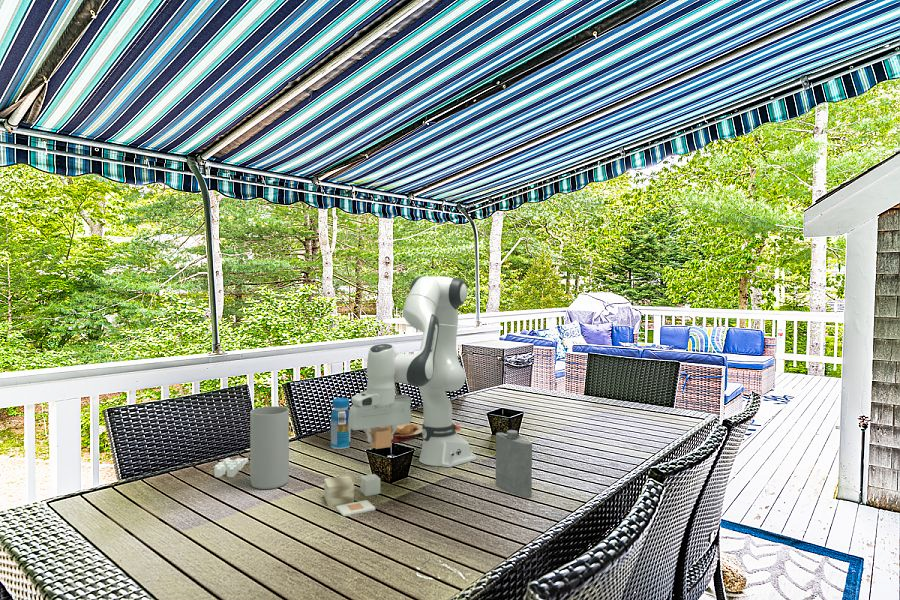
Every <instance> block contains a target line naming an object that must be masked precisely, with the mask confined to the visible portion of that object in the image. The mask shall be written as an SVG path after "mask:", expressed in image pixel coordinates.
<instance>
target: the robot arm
mask: <svg viewBox="0 0 900 600" xmlns="http://www.w3.org/2000/svg"><path fill="white" fill-rule="evenodd" d="M467 295H468V285H467V284H466V282H465V280H463V279H461V278H458V277H454V278H453V277H450V276H442V275H440V276H435V275H434V276H433V275H431V276H430V275H429V276H428V275H422V276H417V277H414V279H413V280H412V281H411V283H410V286H409V293H408V295H407V297H406V300H405V301H404V304H403V308H402V314H403V318H404V319H405V321H406V322H407V324H408V325H410V326H411V327H412V328H414V329H416V330H418V331H420V332H421V333H422V338H421V342H420V343H421V344H420V348H419V351H418V352H417V353H402V352H399V351H396V350H395V349H394V346H393V345H392V344H389V343H382V344H374V345H373V346H371V347H370V348H369V351H368V354H367V355H368V356H367V360H366V361H367V362H366V363H367V364H366V376H367V384H366V390H364V391H362V392H360V393H358V394H355V395H353V396H352V397H351V403H352V405H351V406H349V407H350V408H349V409H348V410H349V418H348V425H349V427H350V428H351V430H352V431H361V430H363V431H364V433H365V434H366V436H367V442H368V443H369V444H370V442H374V436H372V435H371V434H370V433H369V432H371V429H375V428H378V427H385V426H390V427H391V429H390V430H391V439H393V434H394V432H395V430H396V428H397V425H400V424H408V423H411V421H412V410H411V403H412V402H411V401H412V399H411V397H410V396H409V395H407V394H396V385H395V383H399V384H406V385H412V386H416V387H418V389H419V391H420V395H421V401H422V407H423V409H422V410H423V423H422V433H421V435H422V443H421V444H422V446H421V452H420V455H419V459H418V461H419V462H420V463H422V464H424V465H426V466H427V465H428V466H432V467H444V468H451V467H455V466H459V465H463V464H465V463H466V464H467V463H469V462H472V461H476V460H477V456H476V454H475V453H473V452H472V450H471V446H470V444H469V442H468V440H466V439H465V438H463V436H461V435H460V434H458V433H457V432H456V431H459V432H460V431H461V429H462V427H461V425H459V424H454V423H453V404H452V402H451V400H450V399H449V398H448V396H447V393H446V392H455V391H459V390H461V388H463V386H464V384H465V383H466V378H467V377H466V376H467V374H466V371H465V369H464V367H462V365H461V363H460V360H459V356H458V351H457V335H458V327H459V326H458V324H459V308H460V307H461V306H462V305H463V304H464V303H465V301H466V299H467V297H468V296H467Z"/></svg>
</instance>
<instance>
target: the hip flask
mask: <svg viewBox="0 0 900 600" xmlns="http://www.w3.org/2000/svg"><path fill="white" fill-rule="evenodd" d="M532 478H533V442H532V441H530V440H525V439H522V438H518V430H514V429H508V430H506V433H504V432H496V433H495V486H497V487H499V488H500V489H502V490H504V491H506V492H509V493H511V494H514V495H516V496H519V497H521V498H525V499H527V498H528V499H529V498H532V496H533V495H532V490H533V489H532V487H533V486H532V483H533V482H532V481H533V479H532Z"/></svg>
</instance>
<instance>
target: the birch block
mask: <svg viewBox="0 0 900 600" xmlns="http://www.w3.org/2000/svg"><path fill="white" fill-rule="evenodd" d="M323 483H324V490H323V493H324V494H323V496H324V499H325V501H326V505H327V507H331V506H339V505H344V504H349V503H354V502H355V483H354V482H353V479H352V478H351V476H350V475H344V476H336V477H327V478H324V482H323Z"/></svg>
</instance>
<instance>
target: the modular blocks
mask: <svg viewBox="0 0 900 600" xmlns="http://www.w3.org/2000/svg"><path fill="white" fill-rule="evenodd" d="M248 462H249V457H244V458H241V457H237V458H235V459H231V457H227V458H225V459H223V460H222V461H219V462H218V463H217V464H215V465H214V470H213V471H214V472H213V474H214V477H215V478H221V477H223V476H224V475H225V474H226V477H228V478H234V477H235V476H236V475H237V474H238V471H241V470H242V469H243V468H244V466H245V465H246V464H247V463H248Z"/></svg>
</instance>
